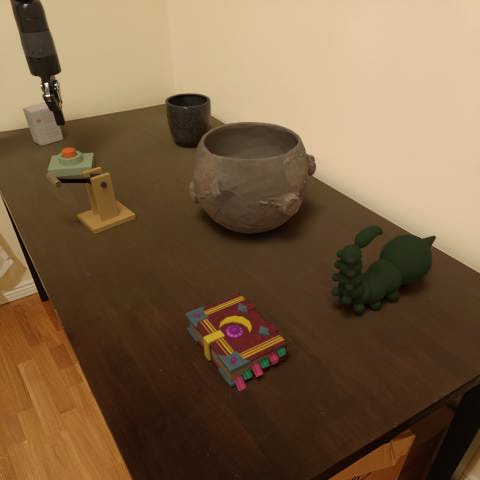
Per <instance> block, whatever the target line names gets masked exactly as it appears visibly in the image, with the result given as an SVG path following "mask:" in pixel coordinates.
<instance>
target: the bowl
mask: <svg viewBox="0 0 480 480" xmlns="http://www.w3.org/2000/svg"><path fill="white" fill-rule="evenodd" d="M316 170H317V164H316V158H315V156H314V155H311V154H308V153H307V151H306V147H305V144H304V143H303V140H302V138H301V137H300V135H299V134H298V133H297V132H295V131H294V130H292V129H290V128H287V127H286V126H282V125H279V124H275V123H269V122H260V121H259V122H258V121H238V122H231V123H230V122H229V123H226V124H221V125H219V126H216V127H214V128H212V129H211V128H210V130H209V131H208V132H207V133H206V134H204V135H203V137H202V139H201V140H200V142H199V144H198V146H196V149H195V153H194V157H193V162H192V172H191V173H192V175H191V176H192V180H191V181H190V182H189V188H188V189H189V190H188V191H189V195H190V197H191V200H192V203H193V204H194V205H197V204H199V206H200V207H201V208H202V209H203V211H204V212H205V213H206V214H207V215H208V216H209V217H210V218H211V220H213V221H214V222H215V223H216V224H218V225H220V226H222V227H224V228H226V229H227V230H230V231H232V232H235V233H240V234H247V235H250V234H258V233H260V234H261V233H265V232H269V231H272V230H275V229H277V228H278V227H281V226H282V225H284V224H285V223H286V222H287V221H289V220H290V219H291V218H292V216H294V215H295V214H297V213H298V211H299V209H300V207H301V205H302V203H303V200H304V197H305V193H306V189H307V184H308V180H309V177H312V176H314V174H315V173H316Z"/></svg>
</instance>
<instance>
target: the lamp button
mask: <svg viewBox="0 0 480 480" xmlns="http://www.w3.org/2000/svg"><path fill="white" fill-rule="evenodd" d="M75 151H76V149H75V148H74V147H65V148H62V149H61V153H62V154H63V157H64V158H72V157H75V156H76V152H75Z"/></svg>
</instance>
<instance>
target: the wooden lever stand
mask: <svg viewBox="0 0 480 480" xmlns="http://www.w3.org/2000/svg"><path fill="white" fill-rule="evenodd" d="M82 173H83V175H82V177H90V174H101V175H98V176H95V177H92V178H90V180H91V184H92V185H91V184H90V183H84V184H85V187H86V192H87V194H88V195H87V196H88V199H89V203H90V207H91V209H89V210H87V211H84V212H81V213H78V214H76V217H77V220H78V221H79V222H81V223H82V224H83V225H84V226H85V227H86V228H87V229H88V230H89V231H91V233H93V234H94V235H97V234H100V233H102V232H105V231H107V230H110V229H113V228H115V227H117V226H120V225H123V224H126V223H129V222H131V221H134V220H137V216H136V214H135V213H134V212H133V211H132V210H130V209H129V208H128V207H126V206H125V205H124V204H122V203H121V202H120V201H119V200H117V199H116V195H115V190H114V186H113V182H112V178H111V174H110V172H105V173H104V172H103V168H102V167H101V166H98V167H94V169H90V170H87V171H84V172H82Z"/></svg>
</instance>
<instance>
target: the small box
mask: <svg viewBox="0 0 480 480" xmlns="http://www.w3.org/2000/svg"><path fill="white" fill-rule="evenodd" d="M22 111H23V113H24V117H25V119H26V120H25V121H26V122H27V125H28V129H29V132H30V135H31V137H32V140H33V142H34V143H35V144H38V145H39V146H41V147H43V146H47V145H50V144H53V143H57V142H60V141H63V140H64V136H63V132H62V129H61V126H57V124H56V121H55V118H54V114H53V112H52V111H50V110H49V108H48V106H47V104H46V103H45V102H41V103H36V104H33V105H29V106H25V107H22Z"/></svg>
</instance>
